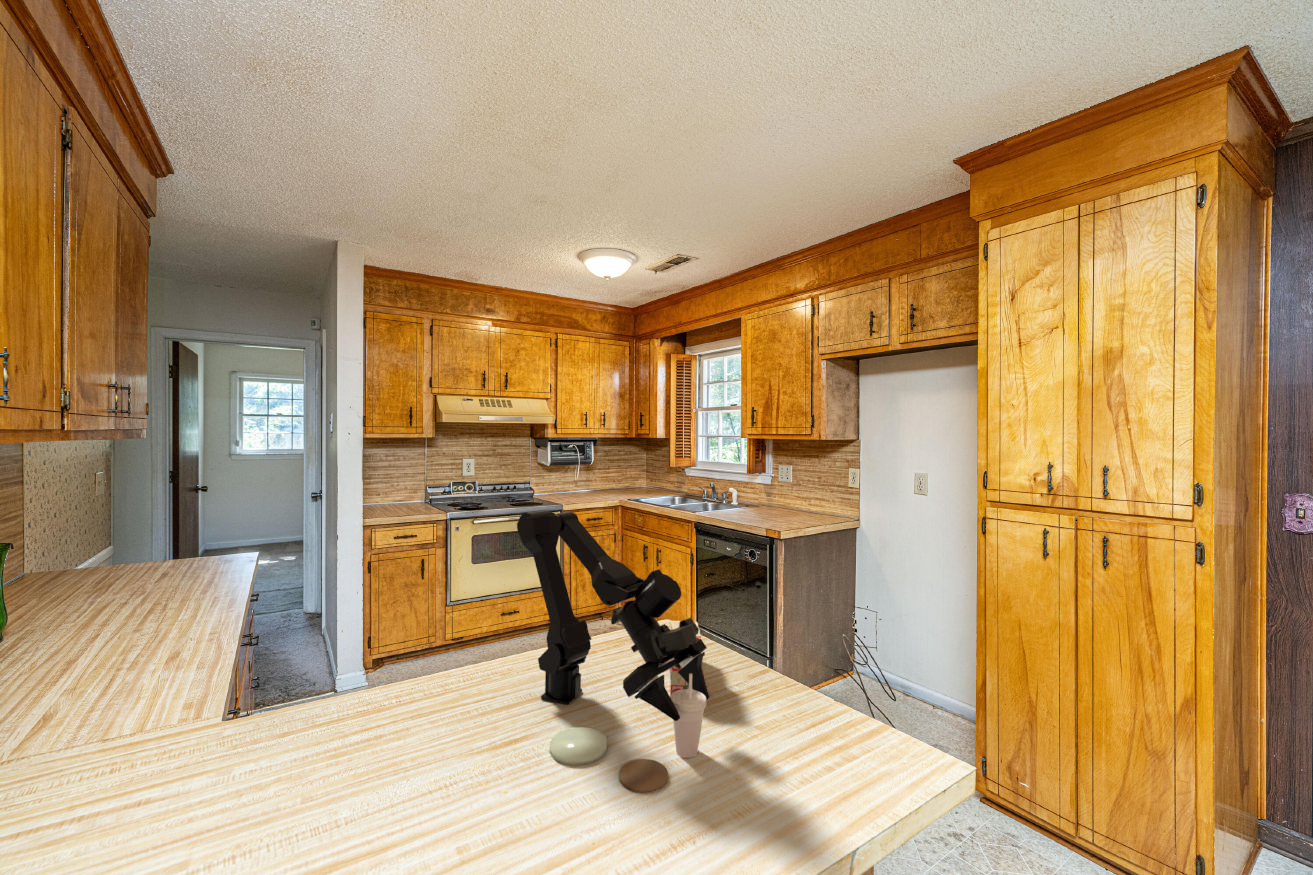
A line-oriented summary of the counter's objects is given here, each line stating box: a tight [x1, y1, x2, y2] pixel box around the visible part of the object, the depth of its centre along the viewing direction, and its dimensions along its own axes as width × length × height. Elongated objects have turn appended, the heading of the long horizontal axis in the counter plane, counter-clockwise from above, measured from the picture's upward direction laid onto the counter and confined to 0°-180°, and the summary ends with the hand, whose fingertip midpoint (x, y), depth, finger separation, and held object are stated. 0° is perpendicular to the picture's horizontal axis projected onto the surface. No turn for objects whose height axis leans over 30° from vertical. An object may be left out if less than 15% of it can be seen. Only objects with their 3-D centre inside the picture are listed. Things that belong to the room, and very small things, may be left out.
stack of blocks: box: [669, 620, 702, 696], centre depth 131 cm, size 21×6×12 cm, turn 0°
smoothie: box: [669, 673, 707, 759], centre depth 101 cm, size 6×6×14 cm
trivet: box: [618, 758, 669, 794], centre depth 93 cm, size 8×8×1 cm
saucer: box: [548, 726, 608, 766], centre depth 101 cm, size 10×10×1 cm
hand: (693, 709), depth 100 cm, fingers open, 9 cm apart
